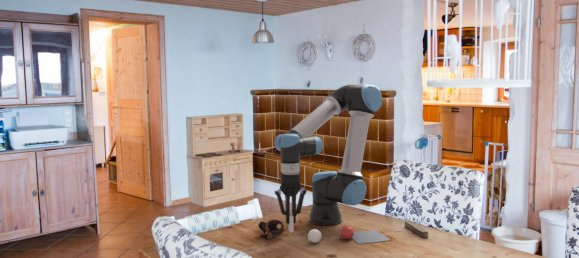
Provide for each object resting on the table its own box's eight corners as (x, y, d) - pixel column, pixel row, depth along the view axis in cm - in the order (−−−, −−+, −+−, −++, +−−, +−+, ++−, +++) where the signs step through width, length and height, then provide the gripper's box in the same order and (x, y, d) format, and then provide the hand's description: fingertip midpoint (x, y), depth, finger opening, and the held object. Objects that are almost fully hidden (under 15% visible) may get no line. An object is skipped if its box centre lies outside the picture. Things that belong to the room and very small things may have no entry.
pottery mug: (287, 233, 207) (288, 220, 202) (279, 249, 200) (280, 236, 195) (261, 225, 210) (262, 212, 205) (252, 240, 203) (253, 227, 198)
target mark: (358, 244, 190) (358, 243, 190) (346, 233, 204) (346, 233, 204) (390, 240, 193) (390, 240, 193) (376, 230, 207) (376, 229, 207)
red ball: (337, 239, 197) (337, 226, 196) (346, 236, 200) (346, 223, 200) (348, 242, 193) (348, 229, 192) (356, 239, 196) (356, 226, 196)
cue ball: (305, 242, 193) (304, 229, 193) (314, 239, 197) (314, 226, 197) (315, 245, 190) (314, 232, 189) (324, 242, 193) (324, 229, 193)
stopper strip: (422, 238, 196) (422, 232, 195) (404, 226, 211) (404, 221, 211) (428, 237, 196) (428, 231, 196) (409, 226, 212) (409, 220, 211)
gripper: (276, 175, 183) (276, 235, 185) (308, 173, 186) (309, 232, 188) (272, 172, 190) (273, 229, 193) (303, 170, 193) (304, 227, 195)
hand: (290, 231), depth 190 cm, fingers closed
